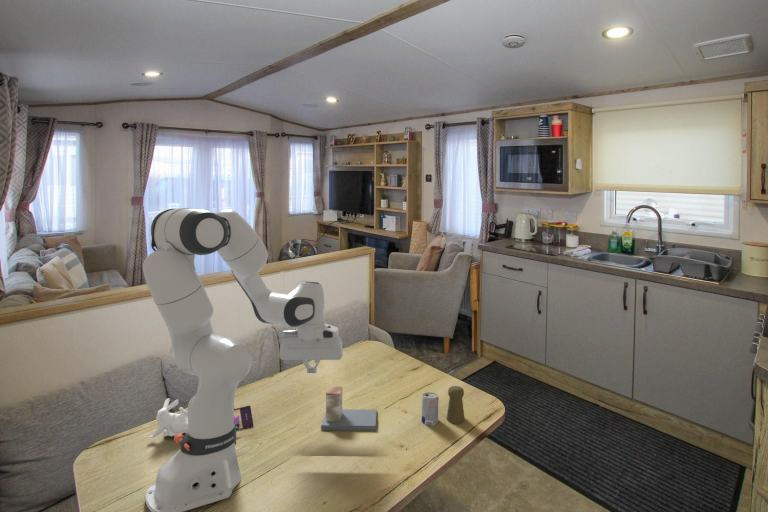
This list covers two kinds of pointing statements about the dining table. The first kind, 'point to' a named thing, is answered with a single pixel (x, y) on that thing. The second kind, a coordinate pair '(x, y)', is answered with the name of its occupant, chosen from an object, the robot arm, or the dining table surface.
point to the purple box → (244, 418)
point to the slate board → (352, 420)
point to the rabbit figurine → (171, 420)
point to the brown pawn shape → (455, 405)
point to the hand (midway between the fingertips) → (311, 372)
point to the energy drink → (430, 409)
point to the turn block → (334, 404)
